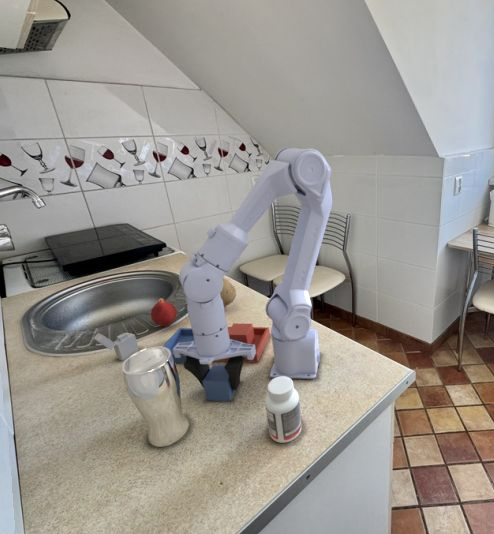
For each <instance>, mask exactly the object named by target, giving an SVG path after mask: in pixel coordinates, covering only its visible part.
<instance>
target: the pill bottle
mask: <svg viewBox="0 0 494 534" xmlns="http://www.w3.org/2000/svg"><path fill="white" fill-rule="evenodd" d="M264 406H265V412H266V413H265V414H266V418H267V426H268V431H269V436H270V438H271V439H272V440H273V441H274V442H277V443H282V444H285V443H290V442H291V441H293V440H295V439H296V438H297V437H298V436H299V435H300V433H301V431H302V415H301V405H300V396H299V392H298V391H297V390H296V388H295V387H294V381H293V380H292V378H289V377H286V376H280V377H276V378H272V379H271V380H270V381H269V383H268V384H267V394H266V396H265V399H264Z"/></svg>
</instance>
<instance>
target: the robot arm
mask: <svg viewBox="0 0 494 534" xmlns="http://www.w3.org/2000/svg"><path fill="white" fill-rule="evenodd" d="M332 170H333V169H332V168H331V166H330V165H329V163H328V162H327V160H326V158H325V156H324V155H323V154H322V153H321V152H320V151H319V150H317V149H315V148H296V147H293V146H286V147H283V148H281V149H279V151H277V153H276V154H275V156H274V158H273V159H271V160H270V161H269V162H268V163H267V164H266V165H265V167H264V169H263V171H262V173H261V175H260V176H259V177H258V179H257V181H256V182H255V183H254V185H253V187H252V188H251V189H250V191H249V192H248V194H247V196H246V197H245V198H244V200H243V202H242V203H241V204H240V206H239V207H238V209H237V210H236V212H235V213H234V215H233V216H232V218H230V220H228V221H225V222H220V223H217V225H216V226H215V228H213V227H210V228H209V229H208V230H207V231H206V235H207V236H208V237H207V238H206V239H205V241H204V242H203V244H202V245H201V247H199V249H198V251H197V252H196V253H192V254H191V255H190V256H189V260H190V261H187V262H185V263H184V264H183V265H182V266H181V268H180V270H179V276H178V280H179V282H180V284H181V287H182V291H183V293H184V294H185V298H184V299H185V302H186V304H187V306H186V310H187V315H188V318H189V323H190V328H192V331H193V336H194V340H195V341H192V342H186V343H178V344H177V345H176V346H175V347H174V349H173V352H174V356H175V358H181V357H182V356H186V358H187V359H186V362H185V363H183V368H184V370H186V371H187V372H189V373H190V374H192V375H193V376H194V378H196V380H197V381H198V382H199V384H200V385H201V387H202V389H204V386H203V382H202V381H203V380H204V378H205V377H206V375H207V373H208V372H209V370H210V369H211V367H210V364H212V363H213V362H215V361H214V360H219V359H225V358H229V360H228V361H226V363H225V364H224V365H225V369H226V371H227V373H228V375H229V377H230V381H231V386H232V389H233V390H236V391H238V389H239V386H240V384H241V376H242V369H243V365H244V359H245V357H247V359H248V360H253V358H254V356H255V354H256V349H255V345H253V344H246V343H242V342H239V341H235V340H232V339H230V338H229V332H228V327H229V326H228V322H227V316H226V310H225V308H224V305H223V300H222V299H221V295H220V292H221V291H222V288H223V278H225V276H226V275H227V274H228V273H229V271H230V270H231V269H232V267H233V266H234V264H235V263H237V260H238V259H239V258H240V256H241V255H242V254H243V252H245V250H246V248H247V247H248V246H249V240H248V239H249V238H248V233H250V232H251V230H252V229H253V227H254V226H255V225H256V223H258V221H259V220H260V219H261V218H262V217H263V215H264V214H265V213H266V212H267V210H268V209H269V208H270V207H271V206H272V204H273V203H274V202H275V201H276V200H277V198H281V197H284V196H288V195H293V194H294V195H295V197H296V199H297V200H298V202H299V203H300V205H301V206H300V210H299V215H298V218H297V222H296V227H295V228H294V229H295V230H294V234H293V237H292V241H291V244H290V245H291V246H290V249H289V253H288V257H287V261H286V264H285V268H284V273H283V277H282V280H281V282H280V283H279V284H278V285H276V286H275V287H274V291H273V294H272V295H271V296H270V298H269V299H268V300H267V302H266V304H265V313H266V315H267V317H268V319H270V320H271V322H272V324H271V327H270V328H271V329H270V335H271V342H272V351H273V359H274V362H273V365H272V367H271V370H270V373H269V378H272V379H274V378H276V377H280V376H286V377H289V378H290V379H307V380H310V379H311V380H314V379H316V378H317V373H318V366H319V363H320V357H321V352H320V342H319V341H320V339H319V330H318V329H315V328H312V318H311V312H312V308H313V305H312V301H311V297H310V294H309V289H310V286H311V282H312V278H313V276H314V271H315V268H316V264H317V261H318V257H319V254H320V250H321V246H322V243H323V240H324V235H325V232H326V228H327V226H328V222H329V218H330V214H331V211H332V207H333V195H332V188H331V182H330V179H331V175H332Z"/></svg>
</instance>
